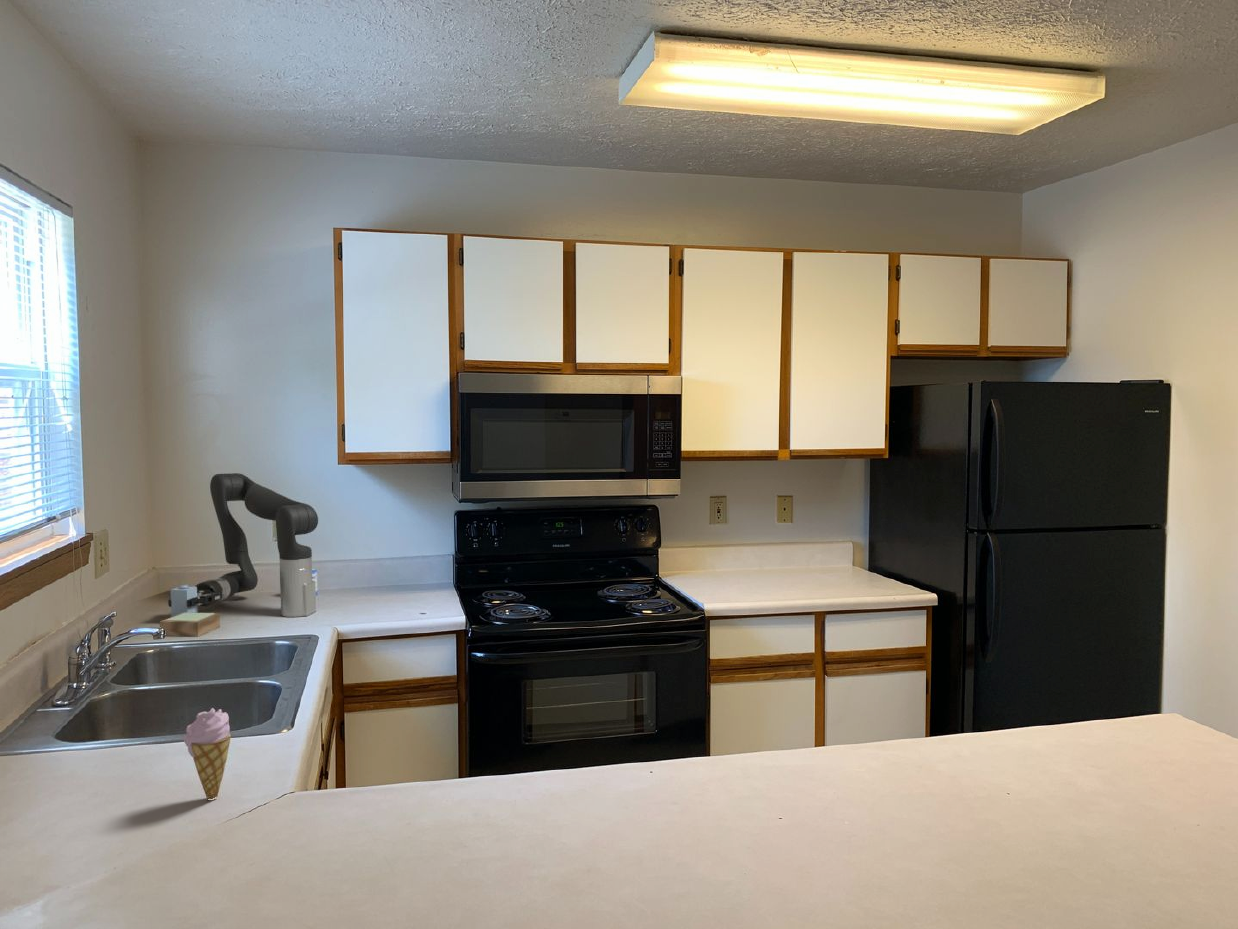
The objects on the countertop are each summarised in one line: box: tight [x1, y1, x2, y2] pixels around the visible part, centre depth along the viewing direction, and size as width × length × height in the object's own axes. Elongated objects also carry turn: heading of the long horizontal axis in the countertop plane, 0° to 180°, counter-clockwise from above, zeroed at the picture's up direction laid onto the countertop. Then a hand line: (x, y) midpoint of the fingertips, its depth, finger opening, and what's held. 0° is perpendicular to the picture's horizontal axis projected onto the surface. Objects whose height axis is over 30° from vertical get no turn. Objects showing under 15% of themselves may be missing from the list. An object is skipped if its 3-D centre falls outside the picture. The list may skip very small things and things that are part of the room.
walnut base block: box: [159, 612, 221, 638], centre depth 248 cm, size 11×11×4 cm
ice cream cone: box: [183, 707, 232, 799], centre depth 141 cm, size 7×6×15 cm
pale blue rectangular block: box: [170, 584, 199, 617], centre depth 259 cm, size 5×5×11 cm
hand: (179, 603), depth 256 cm, fingers closed on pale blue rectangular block, 5 cm apart
